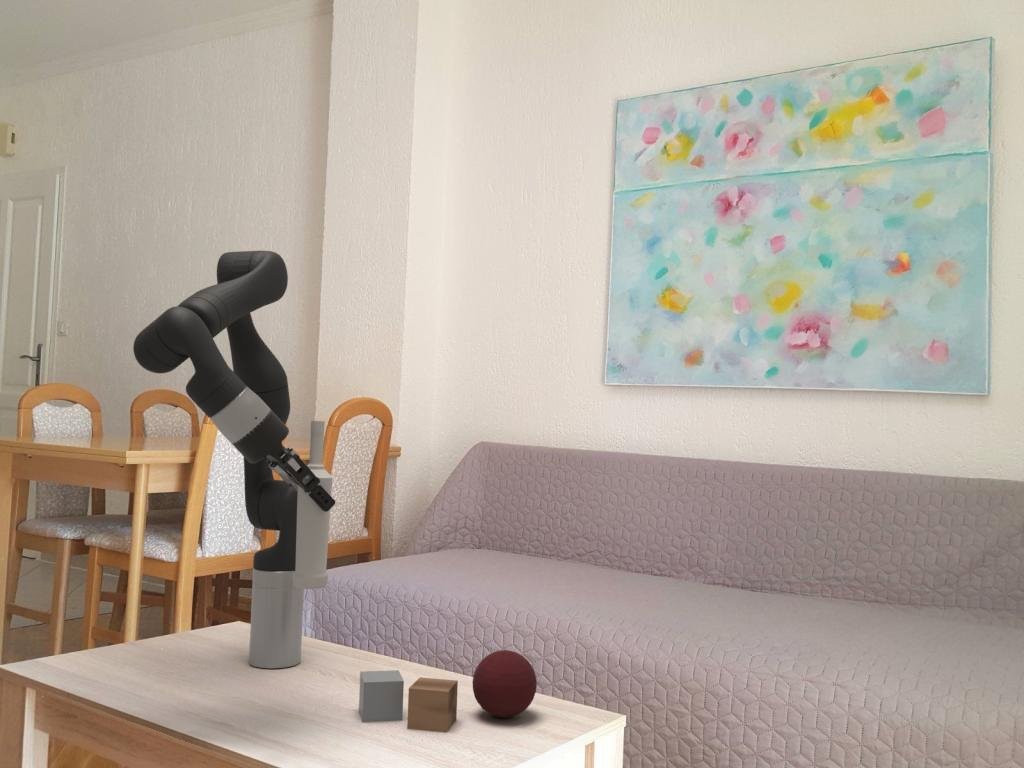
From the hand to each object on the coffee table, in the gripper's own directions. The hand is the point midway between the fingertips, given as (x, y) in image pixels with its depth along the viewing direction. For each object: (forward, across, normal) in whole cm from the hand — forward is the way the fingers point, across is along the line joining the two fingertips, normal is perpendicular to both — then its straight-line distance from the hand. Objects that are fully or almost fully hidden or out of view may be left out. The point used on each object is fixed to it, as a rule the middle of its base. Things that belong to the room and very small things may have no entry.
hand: (325, 505), depth 142 cm
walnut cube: (+34, -9, +12) cm, 37 cm away
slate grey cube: (+29, -2, +16) cm, 33 cm away
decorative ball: (+42, -9, +4) cm, 43 cm away
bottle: (+8, 0, +10) cm, 13 cm away
